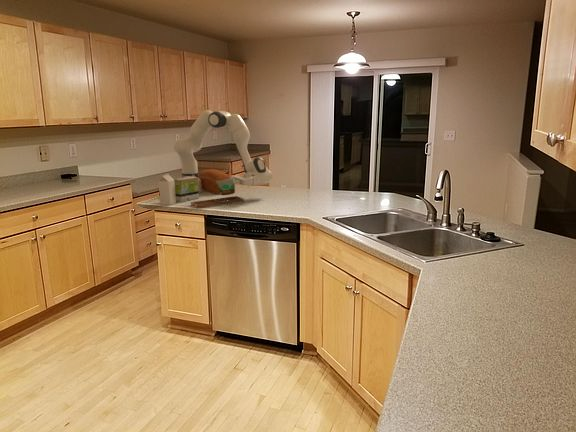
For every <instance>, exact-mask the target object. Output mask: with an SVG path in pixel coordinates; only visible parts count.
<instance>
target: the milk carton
mask: <svg viewBox="0 0 576 432" xmlns="http://www.w3.org/2000/svg"><path fill="white" fill-rule="evenodd" d="M158 191H159V202H160V205H162V206H172V205H175V204H176V203H177V201H176V195H175V182H174V179H173V177H172V176H171V175H170V173H166V174H163V175H162V176H161V178H159V180H158Z"/></svg>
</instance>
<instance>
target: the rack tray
mask: <svg viewBox="0 0 576 432" xmlns="http://www.w3.org/2000/svg"><path fill="white" fill-rule="evenodd" d="M234 199H235V200H234ZM227 200H228V201H227ZM243 202H244V198H242V197H239V196H237V195H235V196H227V197H221V198H219V197H218V198H213V199H212V198H211V199H205V200H197V201H190V206H191V207H194V208H196V209H203V208H209V207H210V208H211V207H217V206H223V205H231V204H237V203H243Z"/></svg>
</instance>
